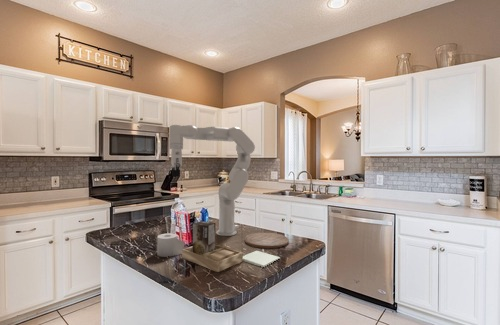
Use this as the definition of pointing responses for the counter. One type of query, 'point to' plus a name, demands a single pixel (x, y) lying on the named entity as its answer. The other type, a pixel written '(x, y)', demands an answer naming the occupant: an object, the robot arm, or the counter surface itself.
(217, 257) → the offcut top
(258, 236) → the trivet
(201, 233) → the coffee box
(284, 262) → the counter surface
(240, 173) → the robot arm
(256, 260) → the pad
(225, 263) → the wooden tray
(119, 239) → the counter surface
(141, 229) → the counter surface
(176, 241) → the toilet tissue
